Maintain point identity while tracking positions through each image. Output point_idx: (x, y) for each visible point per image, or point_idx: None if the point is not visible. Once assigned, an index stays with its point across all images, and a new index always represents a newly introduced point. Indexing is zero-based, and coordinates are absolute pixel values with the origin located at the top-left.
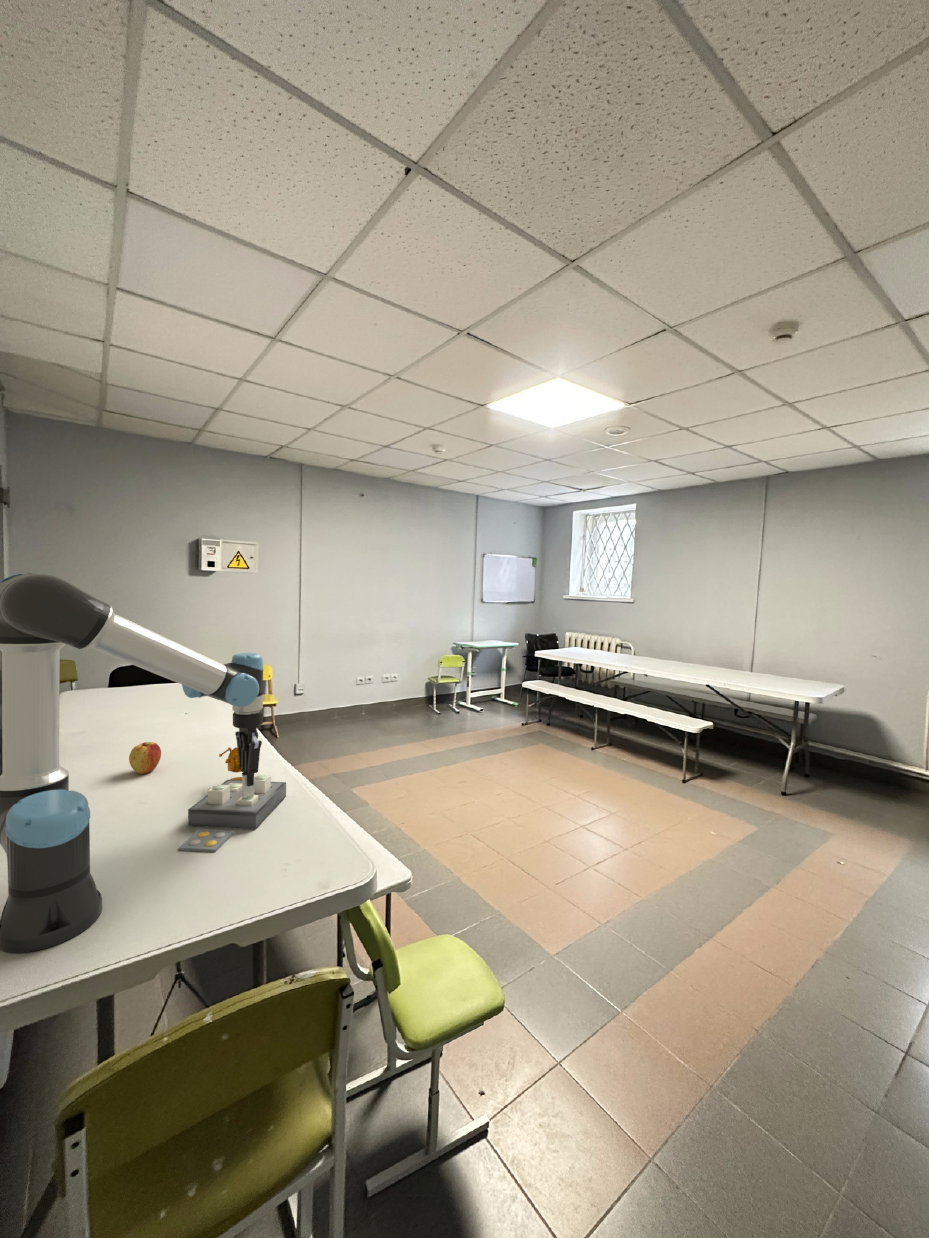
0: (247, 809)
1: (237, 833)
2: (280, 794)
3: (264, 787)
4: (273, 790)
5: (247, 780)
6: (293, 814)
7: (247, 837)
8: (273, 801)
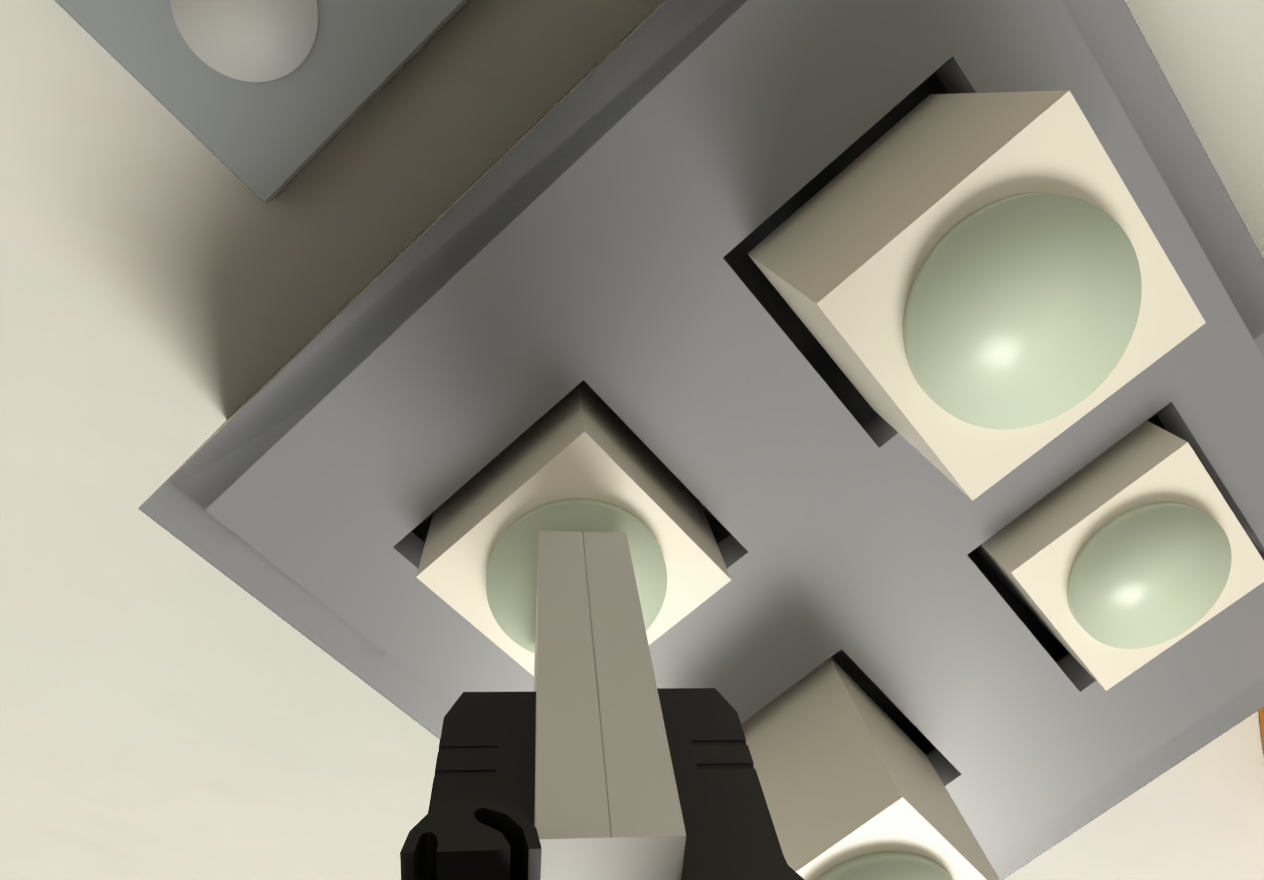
0: (318, 458)
1: (246, 227)
2: None
3: None
4: None
5: (486, 774)
6: (341, 795)
7: (71, 276)
8: None
